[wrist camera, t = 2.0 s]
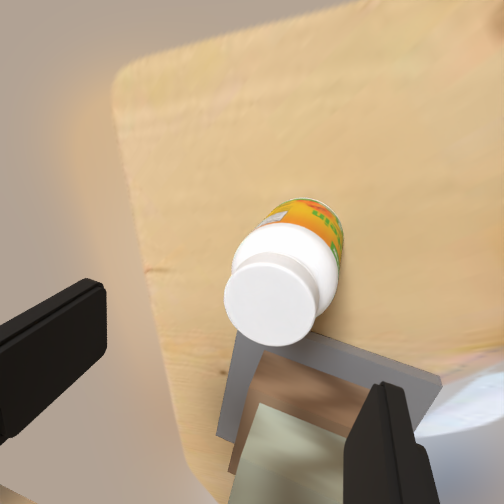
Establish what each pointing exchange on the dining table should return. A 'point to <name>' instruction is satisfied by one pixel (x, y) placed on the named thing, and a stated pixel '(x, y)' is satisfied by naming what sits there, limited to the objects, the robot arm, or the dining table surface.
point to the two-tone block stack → (293, 435)
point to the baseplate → (331, 362)
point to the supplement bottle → (285, 273)
